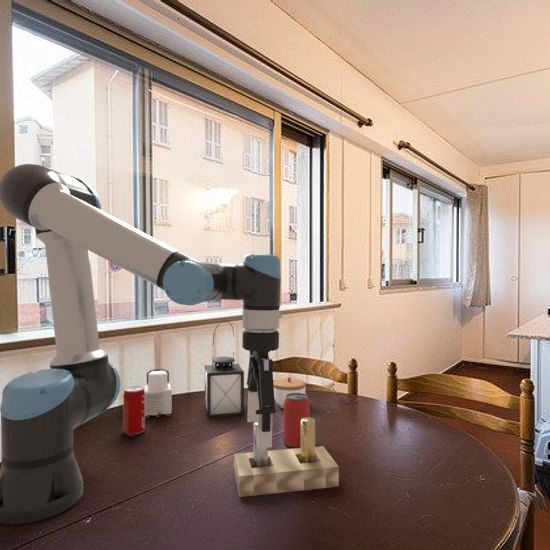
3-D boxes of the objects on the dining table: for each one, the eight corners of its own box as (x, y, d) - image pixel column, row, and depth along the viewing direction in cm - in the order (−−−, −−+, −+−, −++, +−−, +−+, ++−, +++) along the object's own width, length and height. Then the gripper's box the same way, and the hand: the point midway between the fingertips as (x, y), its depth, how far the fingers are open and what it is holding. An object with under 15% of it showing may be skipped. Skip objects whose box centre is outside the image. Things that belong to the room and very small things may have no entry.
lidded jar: (311, 404, 135) (311, 375, 135) (295, 414, 126) (295, 383, 126) (283, 399, 141) (283, 371, 141) (266, 407, 132) (266, 378, 132)
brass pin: (302, 481, 85) (302, 422, 85) (299, 474, 88) (299, 417, 88) (316, 479, 86) (316, 421, 86) (312, 472, 89) (312, 416, 89)
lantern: (238, 403, 136) (238, 318, 136) (244, 415, 125) (244, 322, 125) (204, 406, 133) (204, 319, 133) (207, 418, 122) (206, 323, 122)
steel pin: (254, 485, 83) (254, 426, 83) (252, 478, 86) (252, 421, 86) (269, 484, 84) (269, 425, 84) (266, 477, 87) (266, 420, 87)
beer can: (308, 450, 100) (308, 400, 100) (281, 447, 101) (281, 399, 101) (311, 439, 106) (311, 392, 106) (286, 437, 108) (286, 391, 108)
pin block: (239, 497, 79) (239, 476, 79) (233, 472, 89) (234, 453, 89) (338, 486, 83) (338, 466, 83) (323, 464, 93) (323, 446, 93)
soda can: (145, 434, 110) (145, 389, 110) (123, 437, 108) (123, 391, 108) (144, 427, 115) (144, 383, 115) (123, 429, 113) (123, 385, 113)
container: (144, 409, 130) (144, 368, 130) (170, 407, 132) (170, 366, 132) (144, 418, 122) (144, 374, 122) (171, 415, 125) (171, 372, 125)
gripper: (293, 339, 73) (290, 458, 73) (267, 322, 98) (265, 411, 98) (251, 339, 72) (248, 461, 72) (236, 322, 96) (234, 413, 96)
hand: (258, 433), depth 85 cm, fingers open, 13 cm apart
